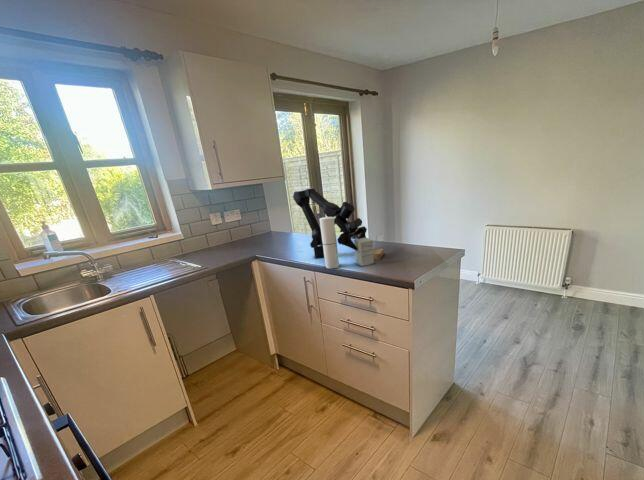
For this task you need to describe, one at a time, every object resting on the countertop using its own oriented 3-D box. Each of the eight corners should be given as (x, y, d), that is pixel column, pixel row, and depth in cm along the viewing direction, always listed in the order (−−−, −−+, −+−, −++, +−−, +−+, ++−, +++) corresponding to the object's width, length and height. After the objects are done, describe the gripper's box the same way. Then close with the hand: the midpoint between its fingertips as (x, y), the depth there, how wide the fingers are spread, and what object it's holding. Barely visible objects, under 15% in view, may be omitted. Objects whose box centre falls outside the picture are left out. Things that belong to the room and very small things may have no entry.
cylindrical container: (322, 267, 164) (316, 219, 154) (332, 263, 168) (326, 216, 158) (332, 269, 159) (326, 219, 149) (342, 265, 164) (336, 217, 154)
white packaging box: (355, 263, 165) (353, 239, 160) (367, 260, 168) (366, 237, 163) (361, 266, 159) (359, 242, 154) (374, 263, 162) (372, 239, 156)
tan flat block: (360, 259, 171) (360, 253, 170) (365, 254, 180) (365, 248, 179) (380, 259, 168) (379, 253, 167) (384, 253, 176) (383, 248, 175)
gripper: (338, 217, 151) (358, 241, 149) (362, 210, 164) (381, 232, 161) (329, 232, 159) (348, 255, 157) (352, 225, 172) (370, 246, 169)
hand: (362, 247), depth 161 cm, fingers open, 9 cm apart
